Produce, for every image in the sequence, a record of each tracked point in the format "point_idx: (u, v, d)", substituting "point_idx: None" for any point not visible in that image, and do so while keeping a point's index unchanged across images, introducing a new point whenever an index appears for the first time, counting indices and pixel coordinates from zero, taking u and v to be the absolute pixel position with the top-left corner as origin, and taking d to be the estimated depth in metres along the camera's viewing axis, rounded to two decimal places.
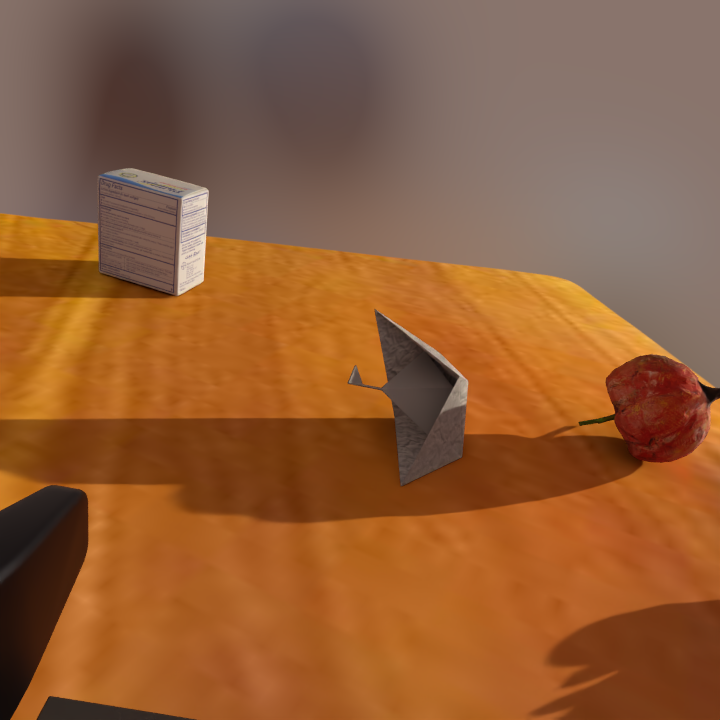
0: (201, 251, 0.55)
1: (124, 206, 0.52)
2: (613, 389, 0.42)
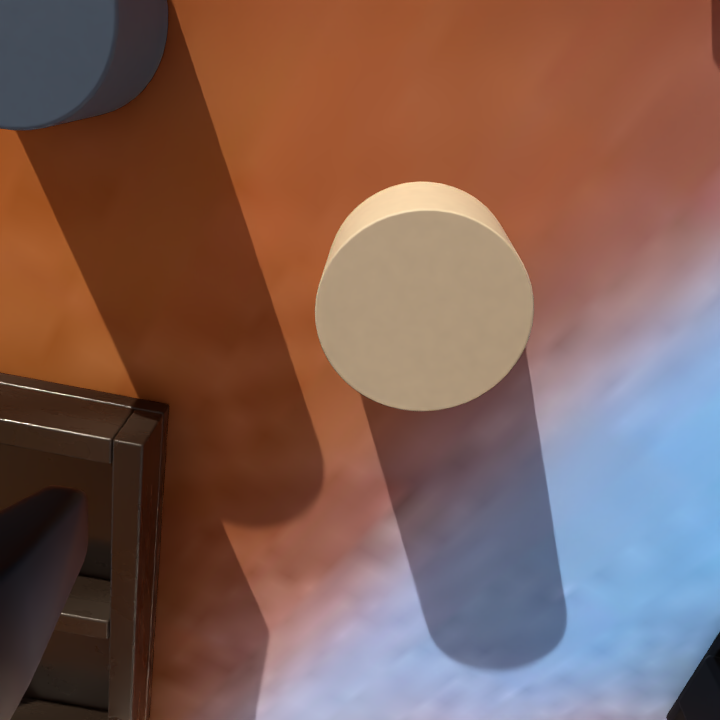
0: None
1: None
2: None
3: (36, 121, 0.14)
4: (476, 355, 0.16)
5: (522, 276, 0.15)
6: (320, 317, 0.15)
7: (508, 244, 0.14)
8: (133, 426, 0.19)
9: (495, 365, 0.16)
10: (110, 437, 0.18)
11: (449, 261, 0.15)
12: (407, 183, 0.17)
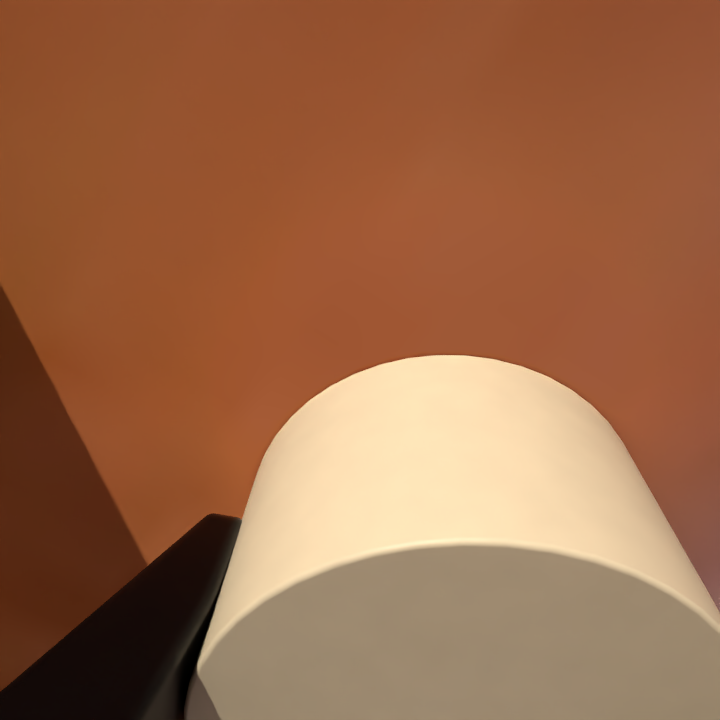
0: None
1: None
2: None
3: None
4: None
5: None
6: None
7: (715, 624, 0.05)
8: None
9: None
10: None
11: (541, 655, 0.05)
12: (418, 360, 0.07)
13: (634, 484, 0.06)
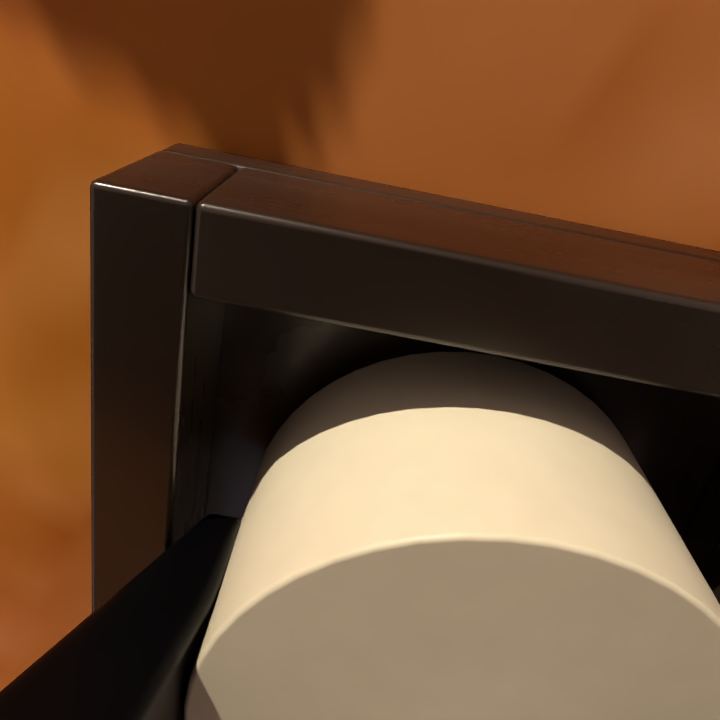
0: None
1: None
2: None
3: None
4: None
5: None
6: None
7: (717, 620, 0.05)
8: None
9: None
10: None
11: (543, 652, 0.05)
12: (419, 357, 0.07)
13: (636, 480, 0.06)
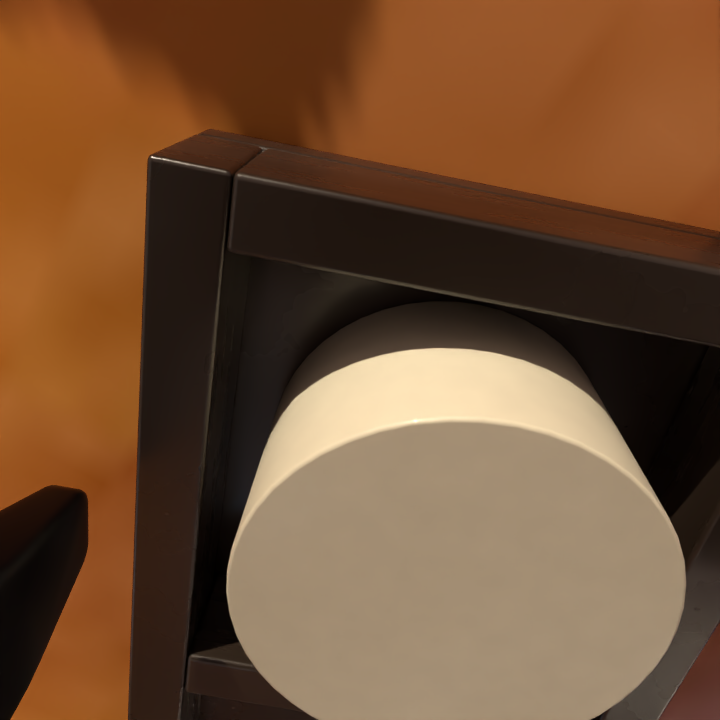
0: None
1: None
2: None
3: None
4: (557, 674, 0.08)
5: (668, 547, 0.07)
6: (237, 607, 0.07)
7: (643, 488, 0.06)
8: None
9: (594, 691, 0.08)
10: None
11: (511, 517, 0.07)
12: (415, 305, 0.09)
13: (590, 398, 0.08)
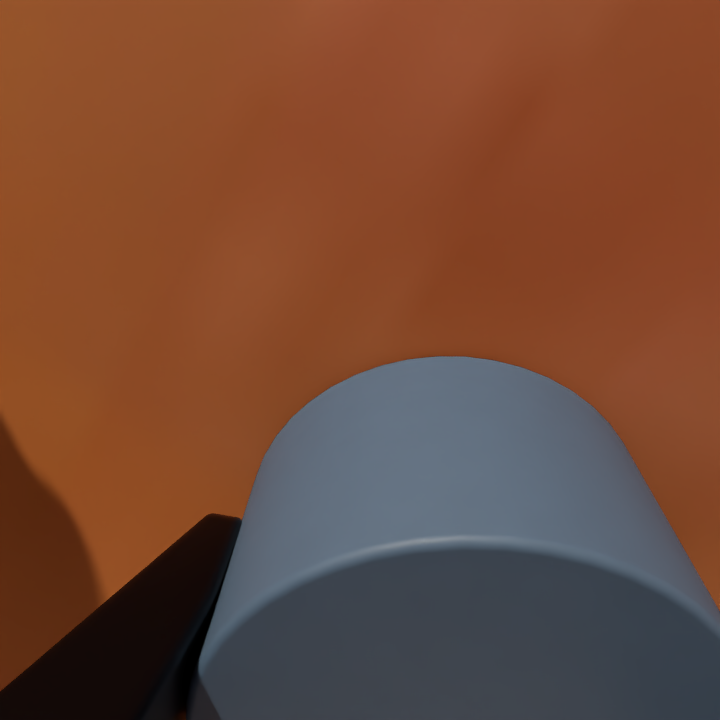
0: None
1: None
2: None
3: None
4: None
5: None
6: None
7: None
8: None
9: None
10: None
11: None
12: None
13: None
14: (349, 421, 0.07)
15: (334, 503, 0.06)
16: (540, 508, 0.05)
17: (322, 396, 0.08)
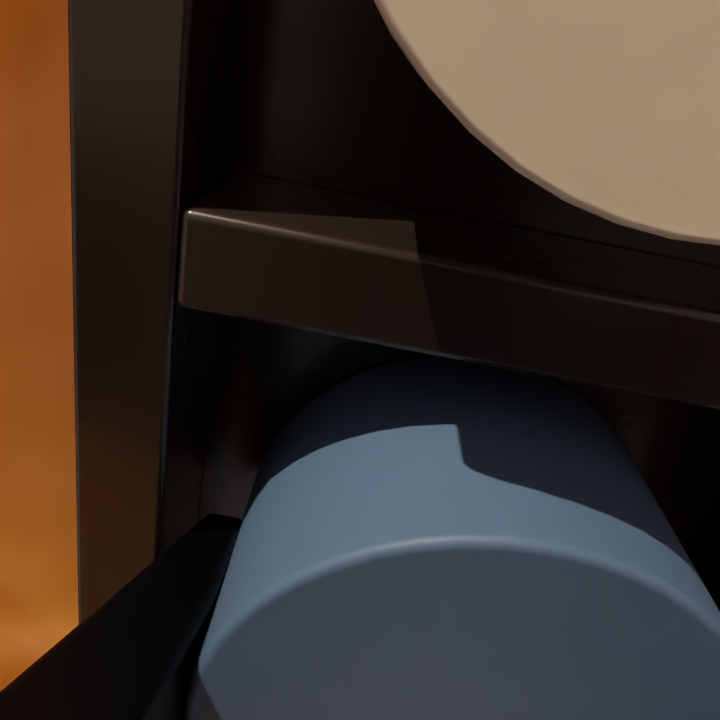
0: None
1: None
2: None
3: None
4: None
5: None
6: None
7: None
8: None
9: None
10: None
11: None
12: None
13: None
14: (349, 422, 0.07)
15: (334, 503, 0.06)
16: (540, 509, 0.05)
17: (322, 395, 0.08)
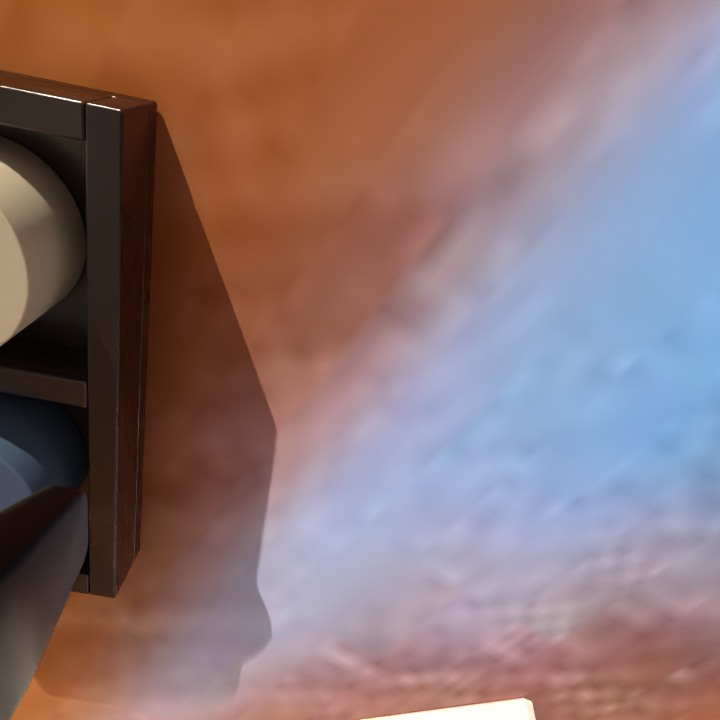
0: None
1: None
2: None
3: None
4: None
5: None
6: None
7: None
8: (112, 101, 0.15)
9: (5, 310, 0.16)
10: (82, 100, 0.15)
11: None
12: None
13: (4, 165, 0.16)
14: None
15: None
16: None
17: None
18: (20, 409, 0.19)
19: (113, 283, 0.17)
